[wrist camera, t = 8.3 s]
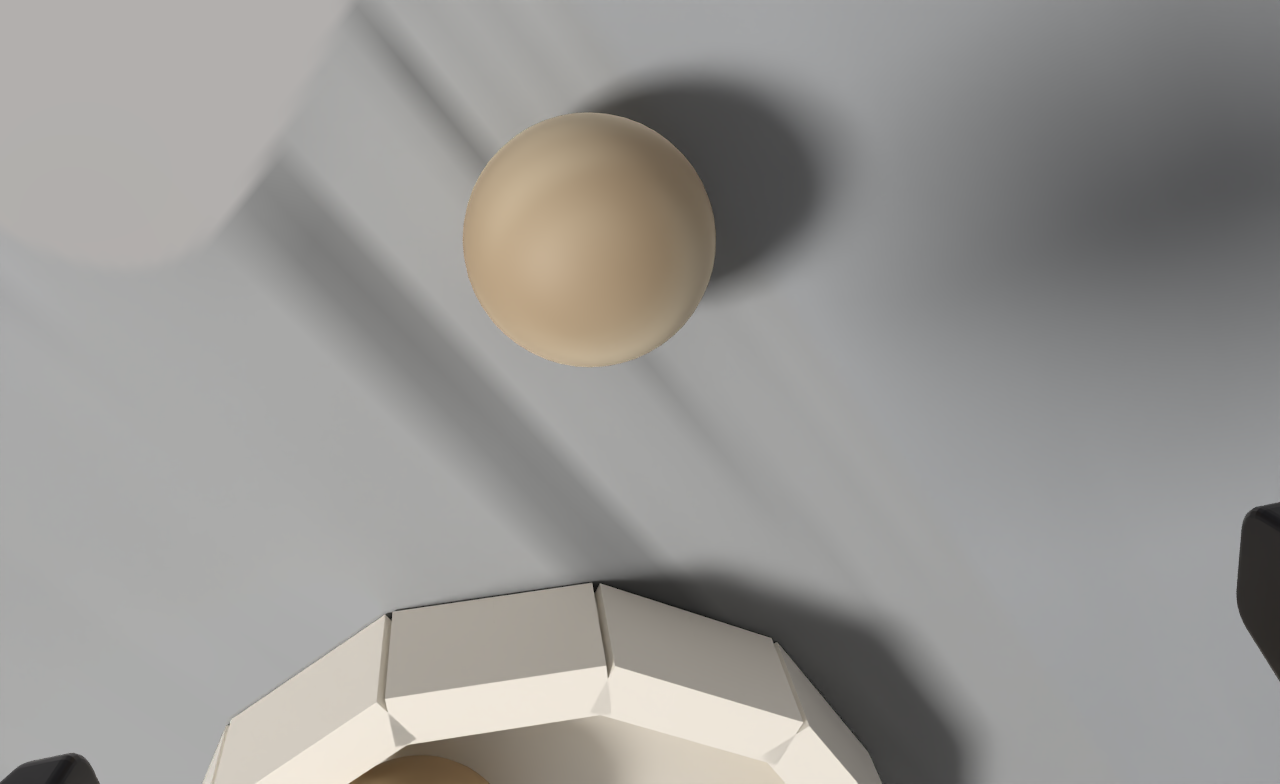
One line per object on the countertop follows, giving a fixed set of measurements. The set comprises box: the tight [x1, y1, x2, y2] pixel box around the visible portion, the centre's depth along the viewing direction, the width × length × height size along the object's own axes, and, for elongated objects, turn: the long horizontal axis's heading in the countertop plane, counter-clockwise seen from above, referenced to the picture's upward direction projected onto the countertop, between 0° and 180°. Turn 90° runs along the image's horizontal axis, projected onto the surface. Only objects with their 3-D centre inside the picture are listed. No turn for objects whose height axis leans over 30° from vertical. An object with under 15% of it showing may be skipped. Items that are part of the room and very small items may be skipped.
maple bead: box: [463, 112, 716, 367], centre depth 17 cm, size 4×4×4 cm
